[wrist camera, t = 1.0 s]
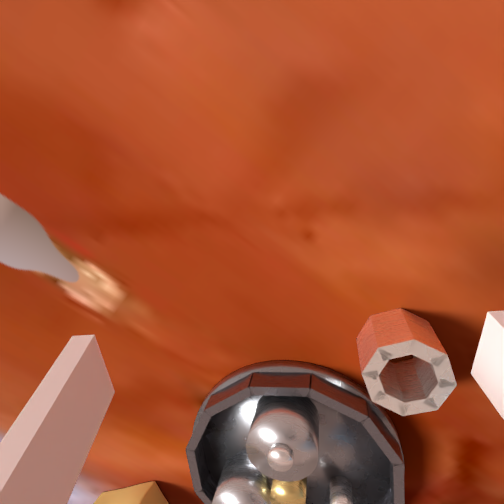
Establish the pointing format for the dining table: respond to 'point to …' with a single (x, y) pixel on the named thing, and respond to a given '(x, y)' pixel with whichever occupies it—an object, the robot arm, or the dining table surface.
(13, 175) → the dining table surface
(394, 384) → the octagonal hollow container
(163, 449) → the dining table surface
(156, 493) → the cheese
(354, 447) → the carrier
